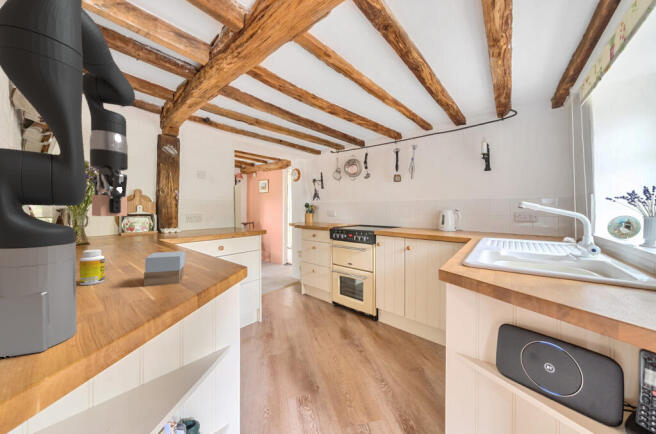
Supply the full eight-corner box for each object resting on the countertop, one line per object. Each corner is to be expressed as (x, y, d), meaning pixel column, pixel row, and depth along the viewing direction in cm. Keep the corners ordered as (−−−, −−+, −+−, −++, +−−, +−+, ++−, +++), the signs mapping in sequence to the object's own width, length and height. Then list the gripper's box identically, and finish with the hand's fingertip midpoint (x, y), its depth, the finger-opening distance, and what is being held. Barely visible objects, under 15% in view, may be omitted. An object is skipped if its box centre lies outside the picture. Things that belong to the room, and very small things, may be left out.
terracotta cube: (127, 215, 65) (127, 196, 65) (100, 216, 60) (100, 194, 60) (117, 215, 67) (117, 196, 67) (92, 215, 62) (91, 195, 62)
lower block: (179, 284, 74) (179, 270, 74) (144, 287, 70) (144, 272, 70) (183, 276, 82) (183, 264, 82) (152, 279, 78) (152, 266, 78)
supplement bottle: (103, 283, 72) (103, 250, 72) (77, 287, 69) (77, 252, 68) (105, 279, 76) (105, 248, 76) (81, 282, 73) (81, 250, 73)
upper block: (180, 270, 74) (180, 256, 74) (145, 272, 70) (145, 257, 70) (184, 263, 82) (184, 251, 82) (154, 265, 78) (154, 252, 78)
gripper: (139, 151, 63) (139, 213, 64) (114, 156, 70) (115, 212, 70) (102, 144, 56) (103, 213, 57) (79, 150, 63) (80, 212, 64)
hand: (109, 212), depth 64 cm, fingers closed on terracotta cube, 5 cm apart
